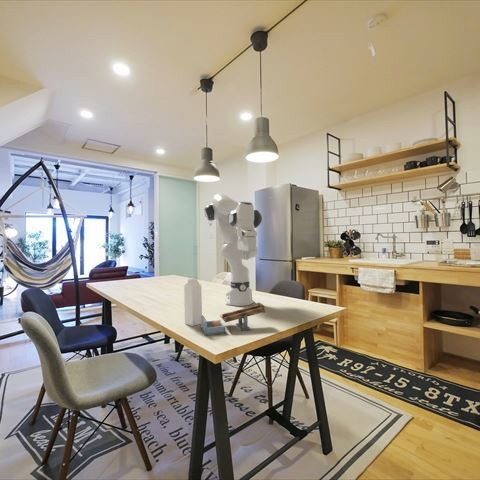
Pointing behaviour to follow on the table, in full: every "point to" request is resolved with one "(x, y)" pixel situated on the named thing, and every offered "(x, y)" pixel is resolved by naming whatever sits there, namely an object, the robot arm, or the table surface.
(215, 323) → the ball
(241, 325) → the pivot stand
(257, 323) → the table surface
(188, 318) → the milk
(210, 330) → the light blue open box
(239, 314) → the lever
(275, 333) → the table surface
